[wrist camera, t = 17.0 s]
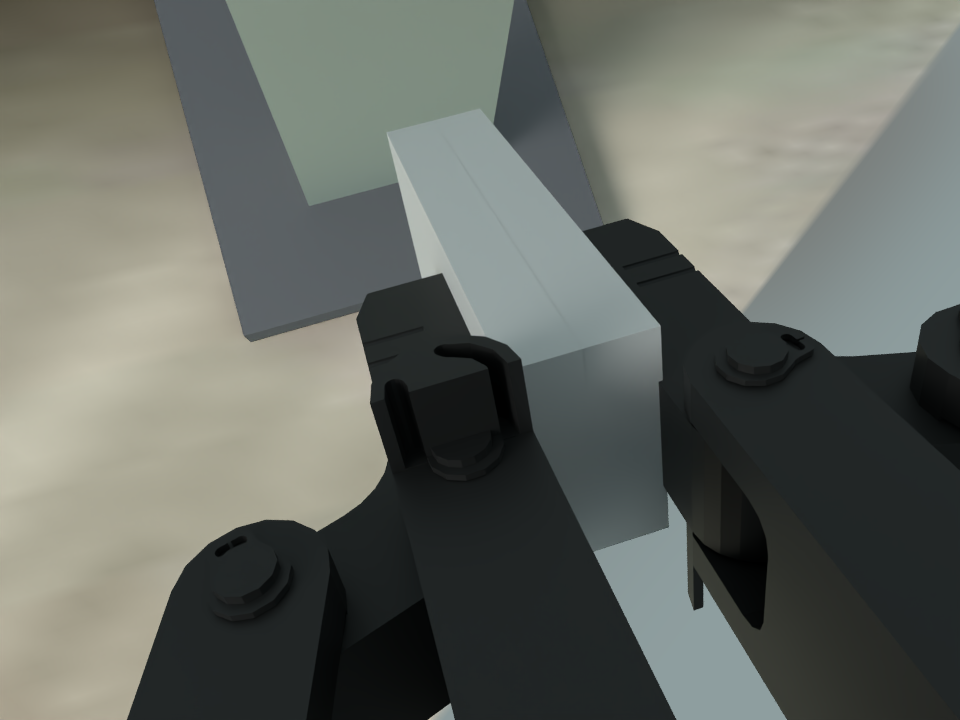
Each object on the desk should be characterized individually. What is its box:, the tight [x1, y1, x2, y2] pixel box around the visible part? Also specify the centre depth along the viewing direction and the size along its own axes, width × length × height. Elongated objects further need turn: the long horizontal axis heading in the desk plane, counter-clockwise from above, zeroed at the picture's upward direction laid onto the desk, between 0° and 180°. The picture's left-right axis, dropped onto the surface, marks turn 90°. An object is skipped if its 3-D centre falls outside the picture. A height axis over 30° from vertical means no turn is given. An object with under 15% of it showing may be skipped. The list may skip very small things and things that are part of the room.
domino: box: [226, 0, 514, 206], centre depth 17 cm, size 5×2×10 cm, turn 107°
